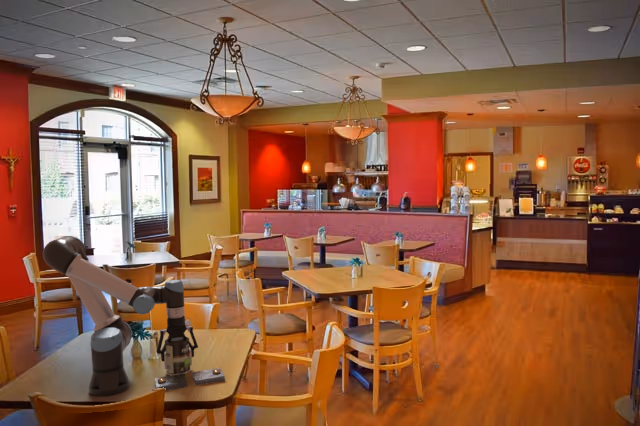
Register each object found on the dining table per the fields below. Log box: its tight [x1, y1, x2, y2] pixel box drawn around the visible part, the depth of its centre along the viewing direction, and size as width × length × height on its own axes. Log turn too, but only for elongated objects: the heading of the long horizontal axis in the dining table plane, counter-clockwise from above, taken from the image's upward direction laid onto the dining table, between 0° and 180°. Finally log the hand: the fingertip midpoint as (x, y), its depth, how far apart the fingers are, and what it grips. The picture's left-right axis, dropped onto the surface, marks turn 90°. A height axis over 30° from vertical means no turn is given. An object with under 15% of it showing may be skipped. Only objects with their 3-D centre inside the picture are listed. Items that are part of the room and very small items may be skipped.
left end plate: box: [154, 374, 189, 391], centre depth 216 cm, size 12×10×3 cm
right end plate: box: [191, 367, 226, 386], centre depth 221 cm, size 12×10×3 cm
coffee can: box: [164, 336, 191, 376], centre depth 230 cm, size 10×10×14 cm
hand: (178, 366), depth 230 cm, fingers closed on coffee can, 10 cm apart
